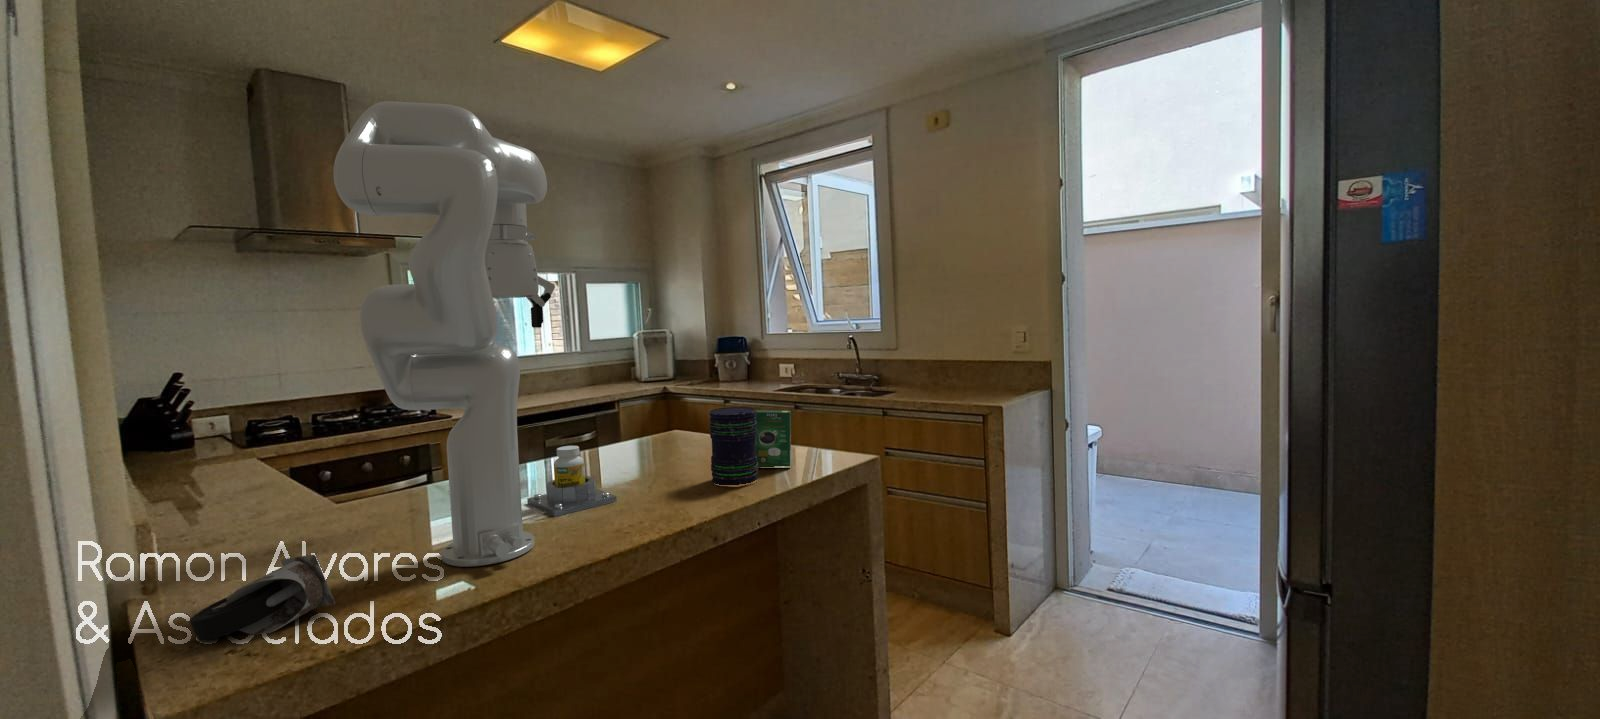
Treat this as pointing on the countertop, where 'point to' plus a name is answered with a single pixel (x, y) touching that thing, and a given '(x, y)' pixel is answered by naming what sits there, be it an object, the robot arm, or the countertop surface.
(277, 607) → the caster wheel
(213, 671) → the countertop surface
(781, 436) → the coffee box
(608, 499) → the pipe flange
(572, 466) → the supplement bottle
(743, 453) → the storage jar
